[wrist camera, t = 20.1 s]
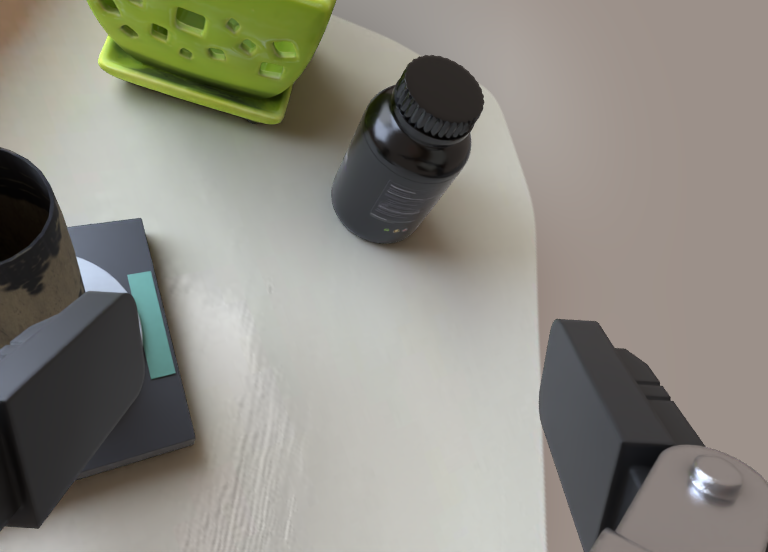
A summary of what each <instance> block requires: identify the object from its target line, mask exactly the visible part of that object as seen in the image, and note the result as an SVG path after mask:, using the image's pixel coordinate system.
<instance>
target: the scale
mask: <svg viewBox="0 0 768 552" xmlns="http://www.w3.org/2000/svg"><path fill="white" fill-rule="evenodd" d="M67 229H68V232H69V235H70V238H71V241H72V244H73V247H74V250H75V254H76V258H77V262H78V265H79V269H80V273H81V277H82V280H83V284H84V288H85V292H87V291H101V292H118V293H129V294H131V295H132V296H133V297H134V299H135V302H136V306H137V312H138V319H139V326H140V333H141V340H142V347H143V354H144V361H145V376H144V381H143V385H142V388H141V391H140V393H139V395H138V396H137V398H136V399H135V401H134V402H133V403H132V405H131V406H130V407H129V409H128V410H127V411H126V413H125V414H124V415H123V417H122V418H121V419H120V421H119V422H118V423H117V425H116V426H115V427H114V429H113V430H112V431H111V433H110V434H109V435H108V437H107V438H106V439H105V441H104V442H103V443H102V445H101V446H100V447H99V449H98V450H97V451H96V453H95V454H94V455H93V457H92V458H91V459H90V461H89V462H88V463H87V465H86V466H85V467H84V469H83V470H82V471H81V473H80V474H79V475H78V477H77V478H76V479H75V480H78V479H81V478H85V477H88V476H91V475H95V474H98V473H101V472H104V471H108V470H111V469H114V468H118V467H121V466H124V465H127V464H131V463H134V462H137V461H141V460H144V459H147V458H151V457H154V456H157V455H160V454H164V453H167V452H170V451H174V450H177V449H180V448H183V447H187V446H190V445H193V444H194V441H195V433H194V429H193V425H192V421H191V417H190V413H189V409H188V405H187V401H186V397H185V393H184V389H183V385H182V381H181V377H180V373H179V368H178V364H177V360H176V356H175V352H174V348H173V344H172V340H171V336H170V332H169V328H168V324H167V320H166V316H165V312H164V308H163V304H162V299H161V295H160V291H159V287H158V283H157V279H156V275H155V271H154V267H153V263H152V259H151V255H150V251H149V247H148V243H147V239H146V235H145V230H144V226H143V222H142V219H141V218H137V219H129V220H121V221H113V222H105V223H97V224H89V225H81V226H73V227H67Z"/></svg>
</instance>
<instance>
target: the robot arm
mask: <svg viewBox="0 0 768 552" xmlns="http://www.w3.org/2000/svg"><path fill="white" fill-rule="evenodd" d="M144 376H145V361H144V354H143V347H142V340H141V333H140V326H139V319H138V312H137V306H136V302H135V299H134V297H133V296H132V295H131V294H129V293H118V292H101V291H87V292H85V293H84V294H82V295H81V296H80V297H79V298H78V299H76V300H75V301H74V302H73V303H71V304H70V305H69V306H68V307H66V308H65V309H64V310H63V311H61V312H60V313H59V314H56V315H54V316H52V317H50V318H48V319H45V320H43V321H41V322H39V323H36V324H34V325H32V326H30V327H28V328H27V329H26V330H25V331H23V332H22V333H21V334H19V335H18V336H17V337H15V338H14V339H13V340H12V341H10V345H5V346H4V347H3V348H1V349H0V531H1V530H2V529H3V527H4V526H8V527H23V528H37V529H39V528H40V526H41V525H42V524H43V522H44V521H45V520H46V518H47V517H48V515H49V514H50V513H51V511H52V510H53V509H54V507H55V506H56V505H57V503H58V502H59V501H60V499H61V498H62V497H63V495H64V494H65V493H66V491H67V490H68V489H69V487H70V486H71V485H72V483H73V482H74V481H75V479H76V478H77V477H78V475H79V474H80V473H81V471H82V470H83V469H84V467H85V466H86V465H87V463H88V462H89V461H90V459H91V458H92V457H93V455H94V454H95V453H96V451H97V450H98V449H99V447H100V446H101V445H102V443H103V442H104V441H105V439H106V438H107V437H108V435H109V434H110V433H111V431H112V430H113V429H114V427H115V426H116V425H117V423H118V422H119V421H120V419H121V418H122V417H123V415H124V414H125V413H126V411H127V410H128V409H129V407H130V406H131V405H132V403H133V402H134V401H135V399H136V398H137V396H138V395H139V393H140V391H141V388H142V385H143V381H144ZM539 414H540V420H541V424H542V427H543V430H544V433H545V436H546V439H547V442H548V445H549V448H550V451H551V454H552V457H553V460H554V463H555V466H556V469H557V472H558V475H559V478H560V481H561V484H562V487H563V490H564V493H565V496H566V499H567V502H568V505H569V508H570V511H571V514H572V517H573V520H574V523H575V526H576V529H577V532H578V535H579V538H580V541H581V544H582V547H583V550H584V552H768V482H767V481H766V480H765V479H764V478H763V477H762V476H761V475H760V474H759V473H758V472H756V471H755V470H754V469H753V468H751V467H750V466H748V465H747V464H745V463H744V462H742V461H740V460H738V459H736V458H735V457H732V456H730V455H728V454H726V453H723V452H720V451H718V450H715V449H711V448H708V447H705V445H704V444H703V442H702V441H701V440H700V438H699V437H698V435H697V434H696V432H695V431H694V430H693V428H692V427H691V426H690V424H689V423H688V421H687V420H686V418H685V417H684V416H683V414H682V413H681V411H680V410H679V409H678V407H677V406H676V404H675V403H674V401H671V400H670V396H669V395H668V393H667V392H666V390H665V389H664V387H663V386H660V382H659V380H658V379H657V377H656V376H655V375H654V373H653V372H652V370H651V369H650V368H649V366H648V365H647V364H646V363H644V362H643V361H642V360H640V359H639V358H637V357H636V356H635V355H633V354H632V353H630V352H629V351H628V350H626V349H619V348H614V346H613V345H612V343H611V342H610V340H609V339H608V337H607V335H606V334H605V332H604V331H603V329H602V328H601V326H600V325H599V323H598V322H596V321H581V320H565V319H556V320H554V322H553V324H552V326H551V330H550V335H549V341H548V346H547V352H546V357H545V363H544V368H543V374H542V379H541V385H540V391H539Z"/></svg>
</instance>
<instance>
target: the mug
mask: <svg viewBox="0 0 768 552" xmlns="http://www.w3.org/2000/svg"><path fill="white" fill-rule="evenodd" d="M84 293H85V288H84V284H83V280H82V277H81V273H80V269H79V265H78V262H77V258H76V254H75V250H74V247H73V244H72V241H71V238H70V235H69V232H68V229H67V226H66V223H65V220H64V217H63V214H62V211H61V209H60V207H59V204H58V202H57V200H56V197H55V195H54V193H53V190H52V188H51V186H50V184H49V183H48V181H47V179H46V178H45V176H44V175H43V173H42V172H41V171H40V170H39V169H38V168H37V167H36V166H35V165H34V164H32V163H31V162H30V161H29V160H28V159H26V158H24V157H22V156H20V155H18V154H16V153H15V152H13V151H11V150H8V149H4V148H1V147H0V349H1V348H3V347H4V346H5V345H10V341H12V340H13V339H14V338H15V337H17V336H18V335H19V334H21V333H22V332H23V331H25V330H26V329H27V328H28V327H30V326H32V325H34V324H36V323H39V322H41V321H43V320H45V319H48V318H50V317H52V316H54V315H56V314H59V313H60V312H61V311H63V310H64V309H65V308H66V307H68V306H69V305H70V304H71V303H73V302H74V301H75V300H76V299H78V298H79V297H80V296H81V295H82V294H84Z"/></svg>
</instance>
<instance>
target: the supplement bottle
mask: <svg viewBox="0 0 768 552" xmlns="http://www.w3.org/2000/svg"><path fill="white" fill-rule="evenodd" d="M483 98H484V96H483V94H482V89H481V88H480V87H479V84H478V82H477V81H476V80H475V78H474V77H473V76H472V75H471V74H470V73H469V71H467V70H466V69H464V68H463V66H461V65H458V64H457V63H456V62H454V61H451V60H449V59H448V58H443V57H441V56H434V55H431V56H428V55H425V56H423V57H418V58H417V59H413V61H412V62H411V63H409V64H408V65H407V67H406V69H405V70H404V72H403V74H402V76H401V78H400V79H399V80H398V82H397V83H396V85H394V86H390V87H388V88H386V89H384V90H382V91H381V92H379V93H378V94H377V95H376V96H375V97H374V98H373V99H372V100H371V101H370V103H369V105H368V106H367V108H366V110H365V112H364V114H363V117H362V119H361V121H360V123H359V125H358V128H357V130H356V132H355V134H354V136H353V139H352V141H351V143H350V145H349V147H348V150H347V152H346V154H345V156H344V158H343V161H342V163H341V165H340V167H339V169H338V172H337V174H336V177H335V179H334V182H333V185H332V190H331V198H332V204H333V207H334V210H335V212H336V214H337V216H338V218H339V219H340V221H341V222H342V223H343V225H344V226H345V227H346V228H347V229H349V230H350V231H351V232H352V233H354V234H355V235H357V236H358V237H360V238H362V239H365V240H367V241H370V242H374V243H383V244H386V243H395V242H398V241H401V240H403V239H405V238H407V237H408V236H410V235H411V234H412V233H413V232H414V231H415V230H416V229H417V228H418V226H419V225H420V224H421V223H422V221H423V220H424V219H425V217H426V216H427V215H428V213H429V212H430V211H431V210H432V208H433V207H434V206H435V204H436V203H437V202H438V200H439V199H440V198H441V197H442V195H443V194H444V193H445V191H446V190H447V189H448V187H449V186H450V185H451V183H452V182H453V181H454V180H455V178H456V177H457V176H458V174H459V173H460V172H461V170H462V169H463V167H464V166H465V164H466V163H467V161H468V158H469V156H470V151H471V134H470V132H471V130H472V129H473V127H474V124H475V122H476V121H477V119H478V118H479V116H480V114H481V112H482V110H483V105H484V100H483Z"/></svg>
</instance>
